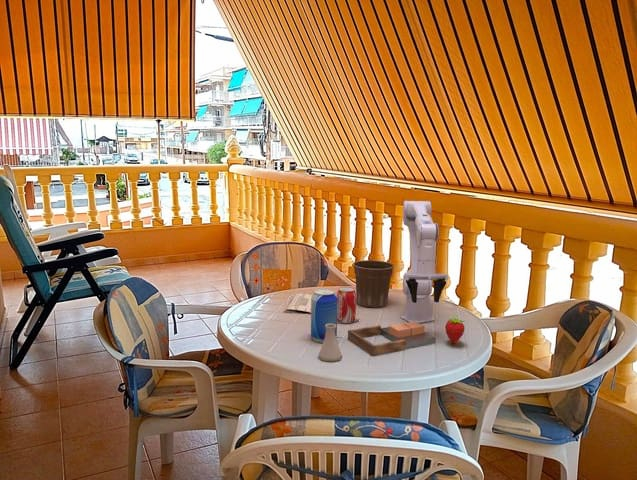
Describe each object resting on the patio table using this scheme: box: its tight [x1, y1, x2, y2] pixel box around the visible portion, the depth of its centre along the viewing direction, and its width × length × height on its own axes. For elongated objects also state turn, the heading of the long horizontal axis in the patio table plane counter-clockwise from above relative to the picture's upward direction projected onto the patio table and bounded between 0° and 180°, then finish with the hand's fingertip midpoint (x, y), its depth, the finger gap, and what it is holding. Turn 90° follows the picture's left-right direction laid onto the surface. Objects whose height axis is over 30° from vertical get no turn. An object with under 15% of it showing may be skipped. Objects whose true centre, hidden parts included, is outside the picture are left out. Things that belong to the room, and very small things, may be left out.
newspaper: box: [284, 292, 313, 314], centre depth 201 cm, size 23×12×2 cm, turn 173°
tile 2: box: [402, 321, 426, 335], centre depth 168 cm, size 5×5×2 cm
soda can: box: [336, 286, 357, 324], centre depth 182 cm, size 7×7×12 cm
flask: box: [317, 324, 343, 363], centre depth 151 cm, size 7×7×10 cm
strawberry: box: [445, 314, 466, 345], centre depth 163 cm, size 6×8×10 cm
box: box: [347, 324, 407, 357], centre depth 162 cm, size 12×15×3 cm
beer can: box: [310, 288, 338, 344], centre depth 165 cm, size 8×8×16 cm
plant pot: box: [352, 259, 395, 309], centre depth 203 cm, size 16×16×16 cm
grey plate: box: [380, 326, 437, 350], centre depth 167 cm, size 12×14×2 cm
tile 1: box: [388, 323, 411, 338], centre depth 166 cm, size 5×5×2 cm
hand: (425, 302), depth 166 cm, fingers open, 7 cm apart
